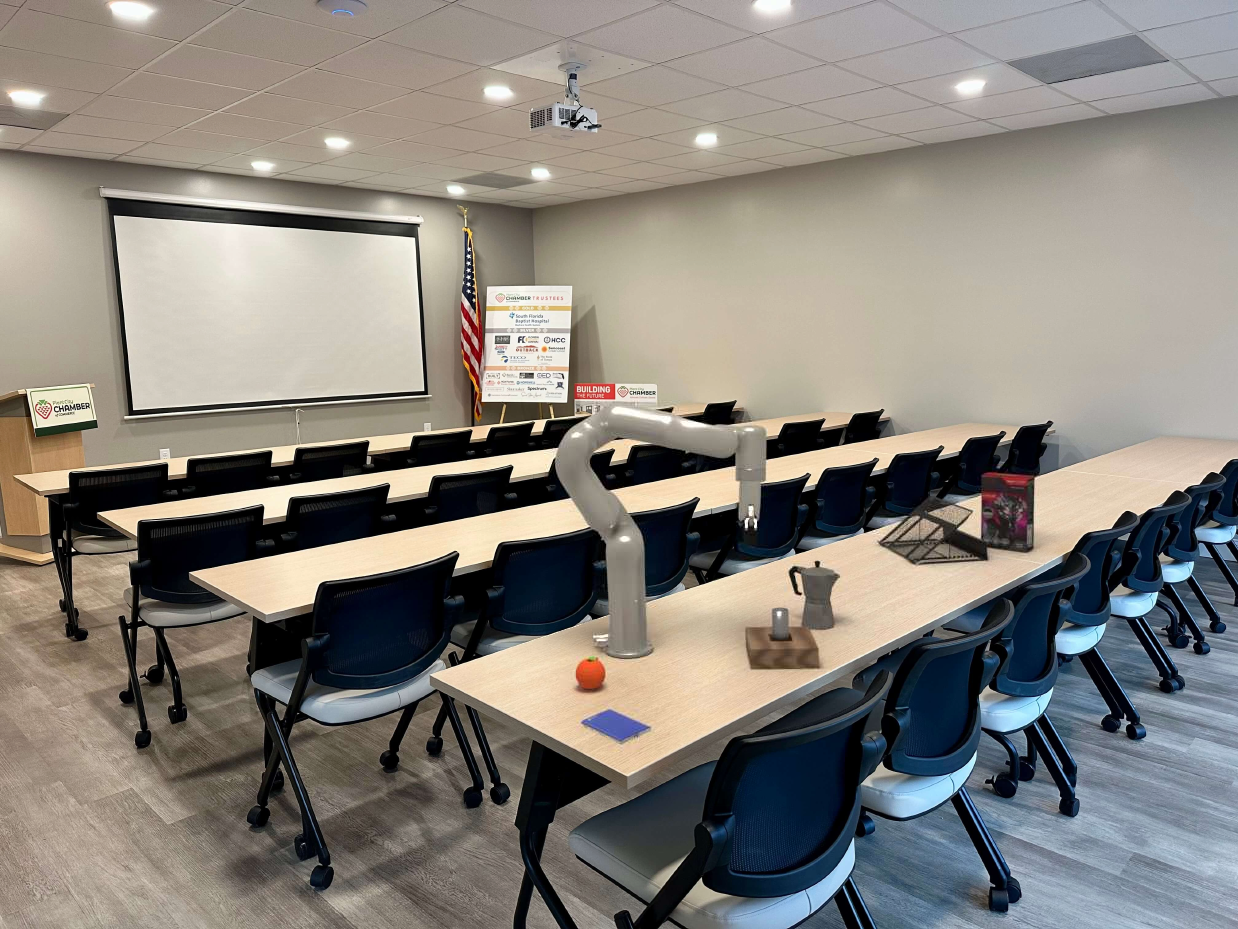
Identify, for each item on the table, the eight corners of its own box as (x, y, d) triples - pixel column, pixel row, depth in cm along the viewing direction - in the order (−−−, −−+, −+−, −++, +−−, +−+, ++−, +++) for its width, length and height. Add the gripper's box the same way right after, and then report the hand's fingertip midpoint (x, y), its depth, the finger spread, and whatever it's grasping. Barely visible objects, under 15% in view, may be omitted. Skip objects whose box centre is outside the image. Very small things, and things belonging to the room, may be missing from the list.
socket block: (750, 669, 199) (750, 649, 198) (745, 646, 215) (745, 627, 214) (818, 668, 198) (818, 648, 197) (808, 645, 213) (808, 626, 213)
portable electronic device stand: (875, 545, 320) (875, 498, 317) (945, 541, 322) (946, 494, 319) (912, 566, 287) (912, 514, 285) (990, 561, 289) (991, 510, 287)
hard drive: (580, 720, 172) (621, 739, 163) (610, 708, 178) (651, 725, 168) (581, 727, 172) (621, 747, 163) (610, 715, 178) (651, 733, 169)
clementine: (585, 679, 197) (584, 650, 196) (612, 682, 194) (611, 653, 193) (571, 692, 190) (569, 662, 189) (598, 695, 187) (597, 665, 186)
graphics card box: (979, 546, 309) (980, 474, 306) (987, 543, 314) (988, 471, 310) (1026, 553, 297) (1028, 477, 293) (1034, 550, 301) (1036, 475, 298)
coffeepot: (848, 624, 228) (847, 560, 226) (832, 633, 221) (831, 567, 219) (797, 614, 238) (797, 553, 236) (780, 623, 231) (780, 560, 229)
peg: (773, 660, 204) (772, 612, 203) (771, 654, 208) (771, 607, 207) (789, 659, 204) (789, 612, 202) (787, 654, 208) (787, 607, 206)
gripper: (734, 470, 218) (734, 534, 220) (736, 479, 201) (735, 549, 203) (763, 470, 217) (762, 534, 219) (767, 480, 200) (766, 549, 202)
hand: (749, 541), depth 211 cm, fingers open, 9 cm apart
